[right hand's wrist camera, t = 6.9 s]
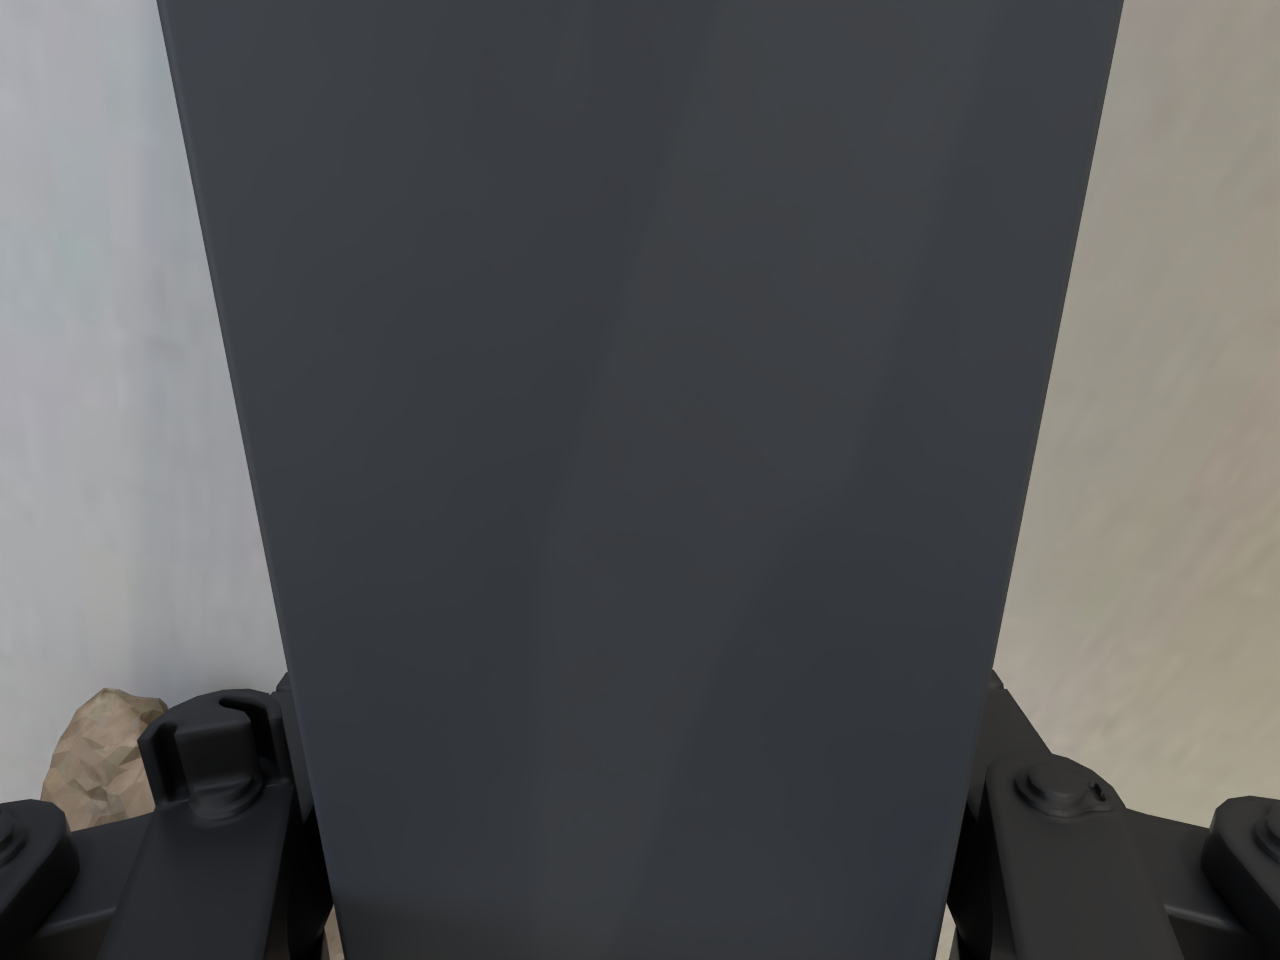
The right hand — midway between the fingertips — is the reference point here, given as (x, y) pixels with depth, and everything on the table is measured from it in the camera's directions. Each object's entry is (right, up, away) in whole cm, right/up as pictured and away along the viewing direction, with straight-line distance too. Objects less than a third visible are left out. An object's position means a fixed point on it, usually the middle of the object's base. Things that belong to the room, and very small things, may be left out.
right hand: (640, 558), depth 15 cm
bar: (0, +9, -3) cm, 10 cm away
